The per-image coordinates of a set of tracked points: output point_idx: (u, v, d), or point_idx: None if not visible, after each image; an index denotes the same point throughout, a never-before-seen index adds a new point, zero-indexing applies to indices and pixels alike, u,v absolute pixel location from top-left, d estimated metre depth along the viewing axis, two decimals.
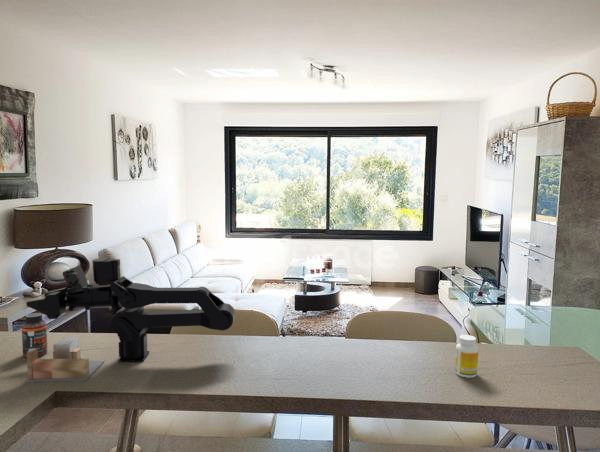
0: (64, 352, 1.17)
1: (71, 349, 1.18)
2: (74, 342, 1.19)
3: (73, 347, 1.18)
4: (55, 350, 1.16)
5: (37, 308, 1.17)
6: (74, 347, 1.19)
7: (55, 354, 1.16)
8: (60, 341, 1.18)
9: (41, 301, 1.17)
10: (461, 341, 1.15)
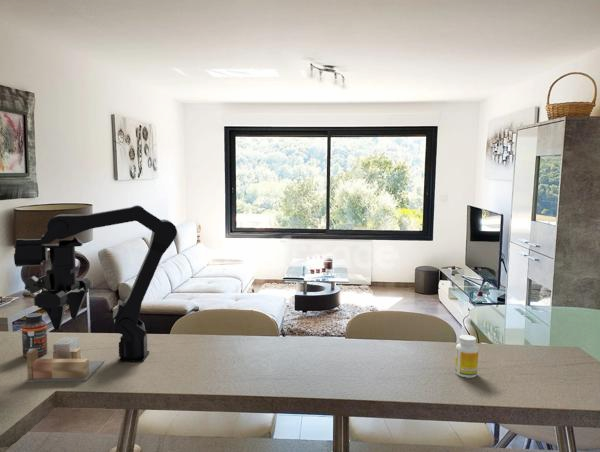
0: (64, 352, 1.17)
1: (71, 349, 1.18)
2: (74, 342, 1.19)
3: (73, 347, 1.18)
4: (55, 350, 1.16)
5: (58, 318, 1.13)
6: (74, 347, 1.19)
7: (55, 354, 1.16)
8: (60, 341, 1.18)
9: (49, 314, 1.12)
10: (461, 341, 1.15)
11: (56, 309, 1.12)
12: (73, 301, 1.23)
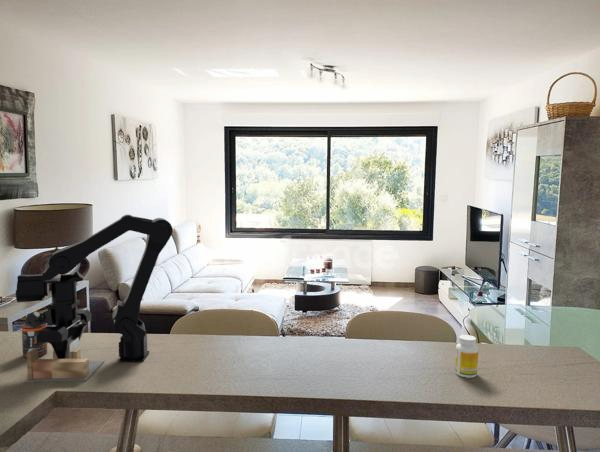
0: None
1: (71, 349, 1.18)
2: (74, 342, 1.19)
3: (73, 346, 1.18)
4: None
5: (63, 351, 1.15)
6: (74, 347, 1.19)
7: (55, 354, 1.16)
8: None
9: (54, 347, 1.15)
10: (461, 341, 1.15)
11: (61, 342, 1.15)
12: (71, 336, 1.22)
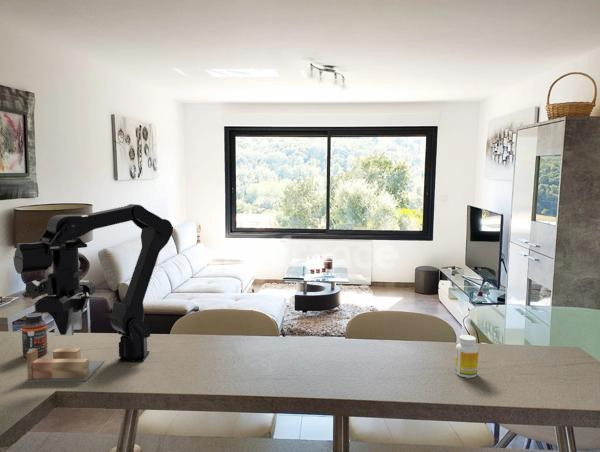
0: None
1: (73, 321, 1.10)
2: (76, 314, 1.12)
3: (74, 319, 1.11)
4: None
5: (64, 323, 1.08)
6: (76, 320, 1.12)
7: (56, 326, 1.09)
8: None
9: (55, 318, 1.07)
10: (461, 341, 1.15)
11: (62, 313, 1.07)
12: (73, 308, 1.14)
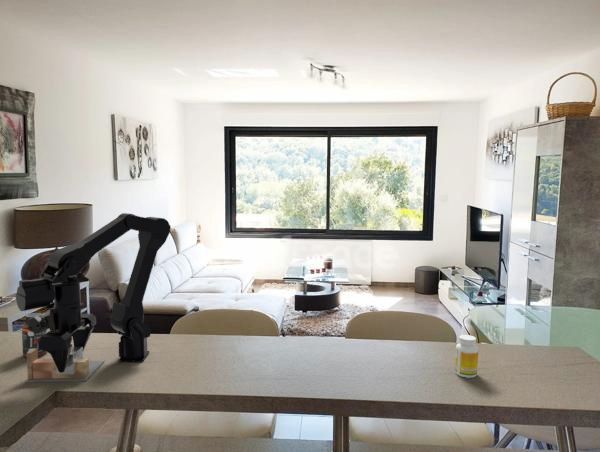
0: (67, 363, 1.10)
1: (75, 360, 1.11)
2: (78, 352, 1.12)
3: (76, 357, 1.12)
4: None
5: (63, 361, 1.07)
6: (78, 357, 1.12)
7: None
8: None
9: (54, 356, 1.06)
10: (461, 341, 1.15)
11: (61, 351, 1.06)
12: (78, 339, 1.17)
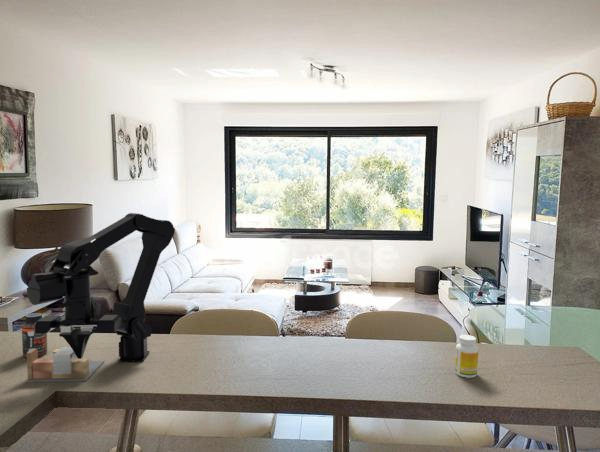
0: (64, 363, 1.10)
1: (72, 360, 1.11)
2: None
3: (73, 357, 1.12)
4: (55, 361, 1.10)
5: None
6: (75, 357, 1.12)
7: (55, 365, 1.10)
8: (60, 351, 1.12)
9: None
10: (461, 341, 1.15)
11: None
12: None
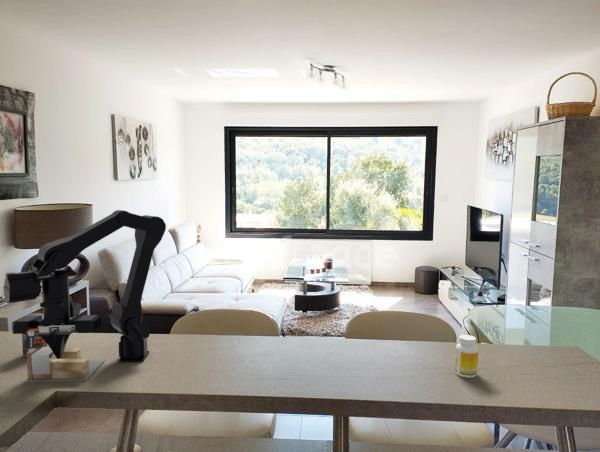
0: (43, 363, 1.10)
1: (51, 360, 1.11)
2: None
3: (53, 357, 1.11)
4: (33, 361, 1.09)
5: None
6: (54, 357, 1.12)
7: (33, 365, 1.09)
8: (39, 351, 1.11)
9: None
10: (461, 341, 1.15)
11: None
12: None
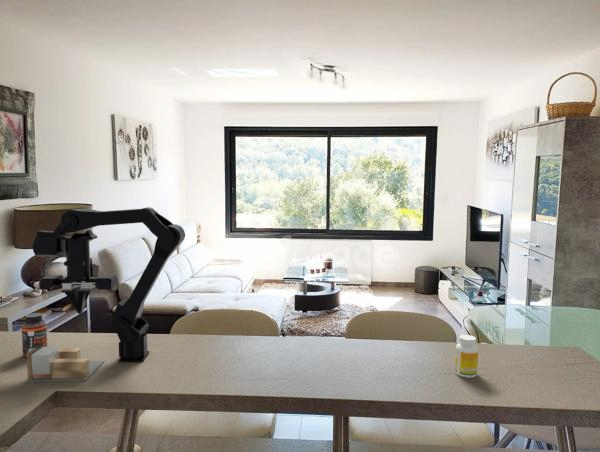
0: (43, 363, 1.10)
1: (51, 360, 1.11)
2: (54, 352, 1.12)
3: (53, 357, 1.11)
4: (33, 361, 1.09)
5: None
6: (54, 357, 1.12)
7: (33, 365, 1.09)
8: (39, 351, 1.11)
9: None
10: (461, 341, 1.15)
11: None
12: None
